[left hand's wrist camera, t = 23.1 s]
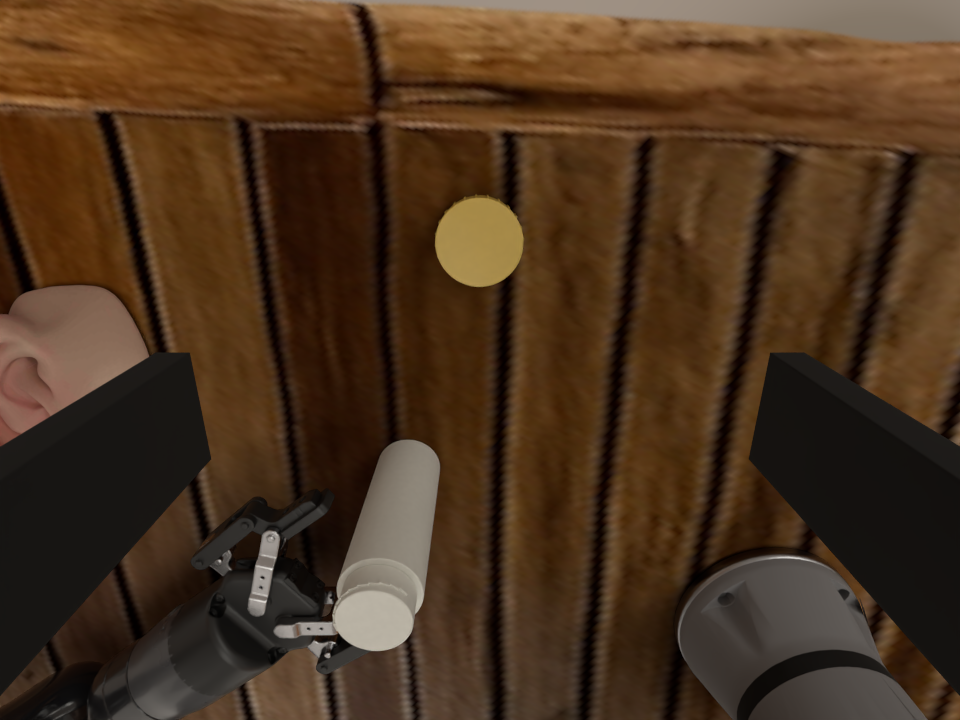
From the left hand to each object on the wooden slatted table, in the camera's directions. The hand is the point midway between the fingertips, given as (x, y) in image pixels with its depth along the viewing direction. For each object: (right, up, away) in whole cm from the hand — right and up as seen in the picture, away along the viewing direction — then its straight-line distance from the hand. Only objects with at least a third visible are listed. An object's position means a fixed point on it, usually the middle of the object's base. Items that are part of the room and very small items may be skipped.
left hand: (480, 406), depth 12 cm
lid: (0, +9, +22) cm, 24 cm away
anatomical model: (-30, +1, +27) cm, 41 cm away
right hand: (-8, -12, +25) cm, 29 cm away
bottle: (-6, -7, +30) cm, 32 cm away
